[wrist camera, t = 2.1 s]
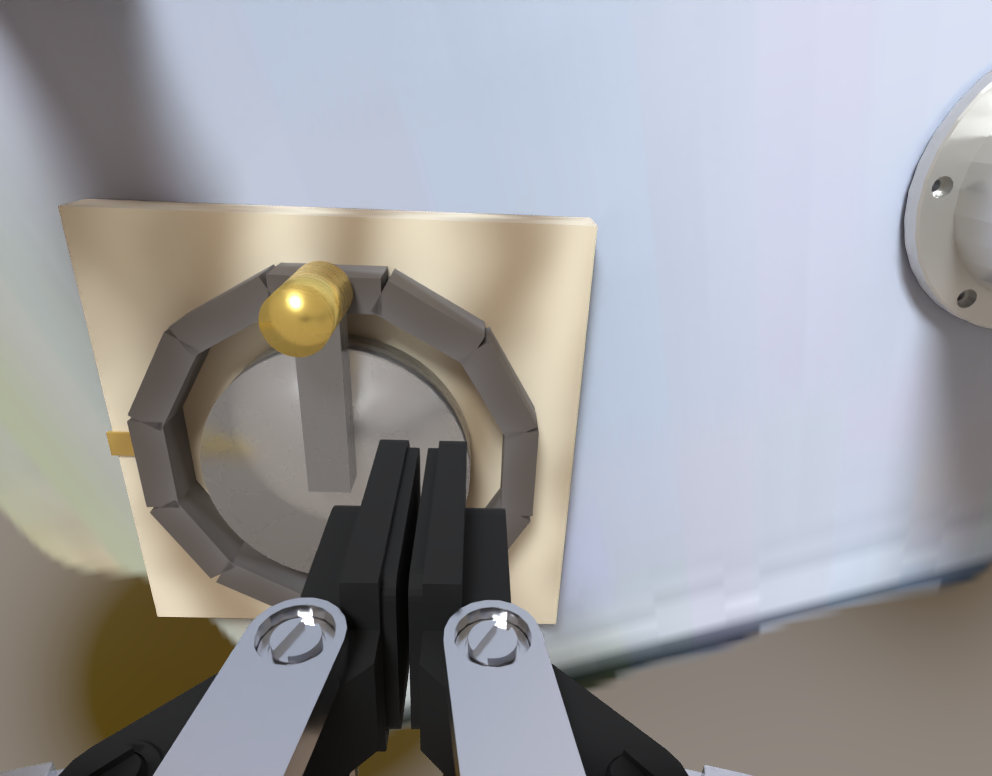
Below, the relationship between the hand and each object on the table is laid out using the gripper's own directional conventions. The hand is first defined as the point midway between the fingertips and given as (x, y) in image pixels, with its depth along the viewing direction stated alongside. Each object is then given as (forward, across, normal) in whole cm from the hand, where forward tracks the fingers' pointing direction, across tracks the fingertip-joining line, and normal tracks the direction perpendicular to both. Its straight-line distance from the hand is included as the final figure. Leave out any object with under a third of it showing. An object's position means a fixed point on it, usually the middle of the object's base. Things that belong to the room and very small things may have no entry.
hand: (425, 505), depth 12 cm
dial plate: (+18, +5, +8) cm, 21 cm away
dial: (+16, +5, +7) cm, 18 cm away
